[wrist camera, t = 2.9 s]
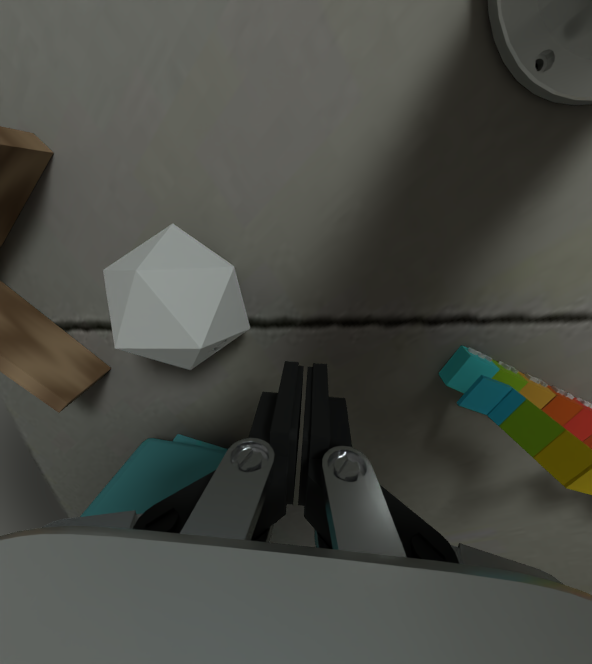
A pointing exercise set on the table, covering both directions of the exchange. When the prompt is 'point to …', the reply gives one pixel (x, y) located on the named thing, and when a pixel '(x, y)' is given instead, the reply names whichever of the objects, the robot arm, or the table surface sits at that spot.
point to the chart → (528, 414)
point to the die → (174, 300)
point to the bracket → (21, 317)
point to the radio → (156, 474)
